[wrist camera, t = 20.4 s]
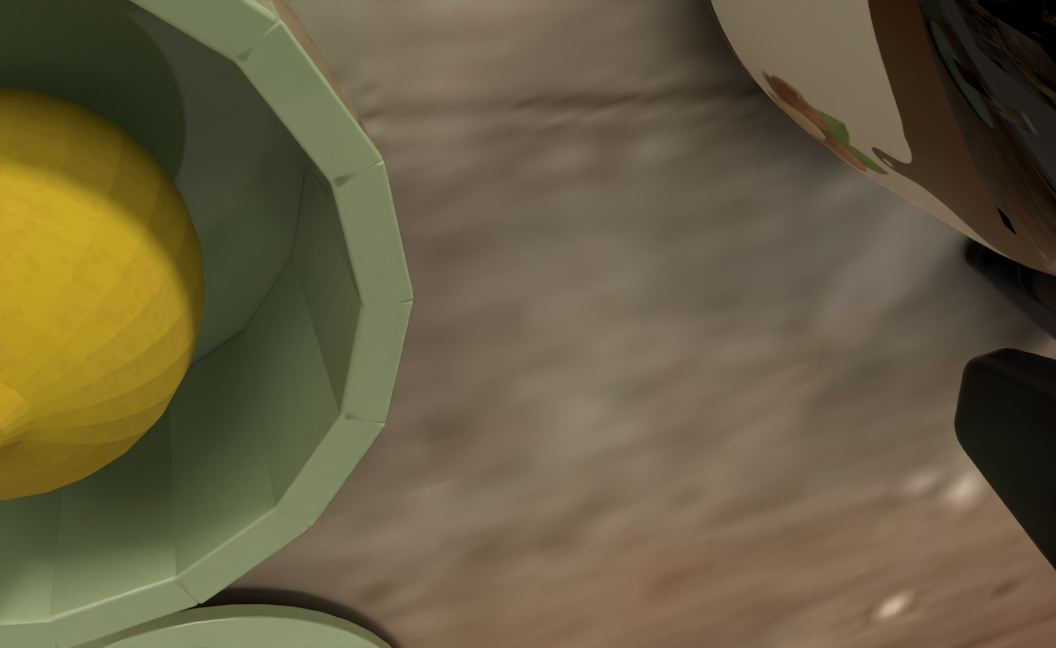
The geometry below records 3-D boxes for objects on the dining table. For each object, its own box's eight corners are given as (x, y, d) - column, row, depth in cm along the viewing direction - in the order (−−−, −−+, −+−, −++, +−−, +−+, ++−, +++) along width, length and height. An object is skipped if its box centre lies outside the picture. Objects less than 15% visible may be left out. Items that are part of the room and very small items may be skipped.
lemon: (-78, 339, 18) (-204, 665, 11) (-202, 49, 15) (-463, 269, 9) (219, 288, 19) (256, 551, 13) (159, 16, 16) (168, 180, 10)
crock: (248, -230, 16) (300, -225, 10) (387, 337, 22) (462, 518, 17) (-578, -109, 13) (-1064, -22, 8) (-151, 491, 19) (-261, 762, 14)
